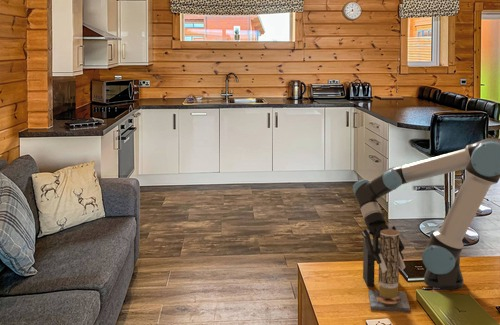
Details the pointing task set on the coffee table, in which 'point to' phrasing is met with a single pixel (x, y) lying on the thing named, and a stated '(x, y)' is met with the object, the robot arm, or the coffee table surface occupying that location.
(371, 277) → the light fixture
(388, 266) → the paper tube
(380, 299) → the plate
